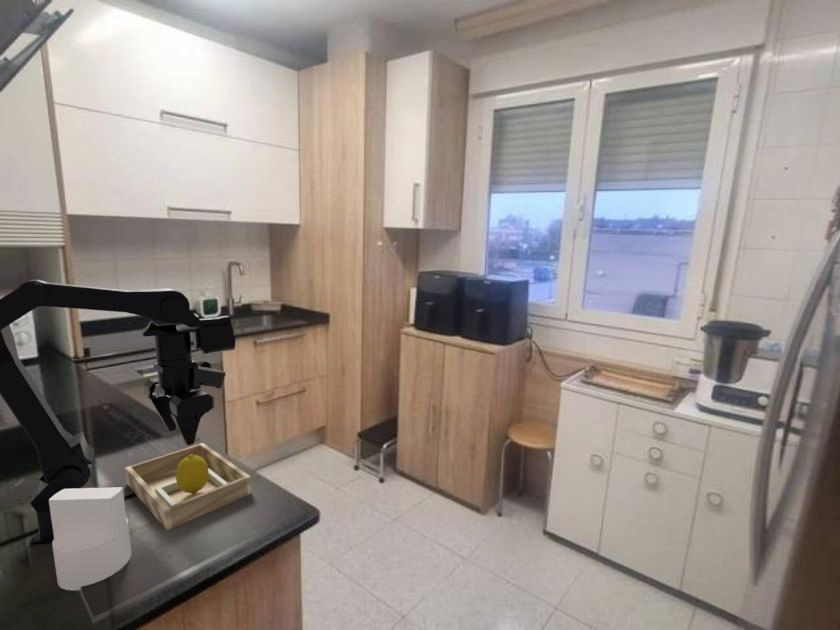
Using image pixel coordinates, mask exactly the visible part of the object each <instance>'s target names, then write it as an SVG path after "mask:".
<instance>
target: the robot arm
mask: <svg viewBox="0 0 840 630" xmlns="http://www.w3.org/2000/svg"><path fill="white" fill-rule="evenodd" d="M37 307H38V308H39V307H49V308H51V307H52V308H66V309H79V310H91V311H92V310H93V311H103V312H104V311H105V312H114V313H115V312H116V313H127V314H132V315H136V316H139V317H143V318H146V319H150V321H149V322H148V324H147V326H146V327H144V328H143V329H142V330H141V334H142V337H154V345H155V347H154V348H155V355H156V356H155V359H156V362H153V363H152V364H153V369H154V370H156V371H157V377H154V378H153V377H152V378H148V379H147V380H146V381H145V382H144V384H143V388H144V389H143V391H144V394H145V395H146V396H147V400H149V402H150V403H151V405H152V406H153V408H154V409H155V411H156V413H157V414H158V416H159V417H160V419H161V421H162V422H163V424H164V425H165V426H166V428H167V430H168V431H169V432H174V431H175V430H176V429H178V431H179V433H180V435H181V437H182V439H183V441H184V443H185V445H186V446H191V445H192V446H193V445H194V444H195V441H196V437H197V434H198V433H197V432H198V430H199V425H200V423H201V418H202V417H203V416H204V415H205V414H206V413H208V412H210V411H211V410H213V409H214V408H215V397H214V396H212V395H210V394H209V393H208V392H206V391H204V390H202V389H201V388H202V386H205V387H212V388H216V389H223V385H224V381H225V377H226V374H227V372H225V371H223V370H221V369H217V368H215V367H212V365H211V364H212V363H211V362H209V361H206V360H199V361H198V362H197V361H195V360H193V355H192V354H193V353H192V343H191V333H192V340H193V346H194V349H195V350H199V351H200V352H201V354H211V353H219V352H220V353H221V352H226V351H229V352H230V351H234V350H235V349H236V334H235V333H234V328H233V324H232V318H231V317H230V316H229V315H221V316H218V317H209V318H208V317H206V318H200V316H199V315H198V314H196V313H194V312H192V311H191V309H190V307H191V306H190V301H189V299H188V298H187V296H186V295H185V294H184V293H182V292H181V291H179V290H177V289H175V288H170V287H163V288H161V287H160V288H144V289H130V290H129V289H119V288H118V289H116V288H108V287H99V286H88V285H80V284H69V283H60V282H48V281H45V280H42V279H31V280H27V281H25V282H23V283H22V284H20V285H19V286H18V287H17V288H16V289H15V290H13V291H12V292H9V293H8V294H6V295H5V296H3V297H1V298H0V396H1V398H2V399H3V401H4V402H5V404H6V405H7V407H8V408H9V410H10V412H12V414H13V415H14V417H15V419H16V420H17V422H18V423H19V425H20V426H21V427H22V429H23V430H24V432H25V433H26V435H27V437H28V438H29V440H30V441H31V442H32V444H33V445H34V447H35V449H36V450H35V451H36V452H37V458H38V463H39V466H40V471H41V473H42V474H41V475H40V476H39V478H38V479H37V482H36V485H35V488H34V491H33V493H32V496H31V500H30V505H31V507H32V508H33V510H34V511H35V513H36V520H37V521H36V522H37V525H38V531H37V532H36V533H35V534H34V535H33V536H32V537H31V538H30V539H29V540H28V541H29V544H30V545H32V544H41V543H42V544H43V543H49V542H50V543H51V542H53V540H54V534H53V527H52V520H51V513H50V506H49V499H50V498H51V497H52V496H53V495H55V494H56V493H58V492H59V491H61V490H63V489H72V488H84V486H86V484H87V483H88V482H89V480H90V477H91V473H92V464H93V462H94V461H93V460H94V447H92V446H91V445H89V444H88V442H87V439H86V437H85V434H84V432H83V431H80V432H78V433H76V434H74V435H73V434H72V433H70V432H69V431H67V430H66V429H65V428H64V427H63V426H62V424H61V422H60V421H59V419H58V417H57V415H56V414H55V412H54V411H53V409H52V408H51V407H50V404H49V403H48V402H47V400H46V399H45V397H44V396H43V394H42V392H41V391H40V389H39V387H38V386H37V385H36V382H35V381H34V380H33V378H32V376H31V375H30V373H29V372H28V370H27V368H26V367H25V366H24V364H23V362H22V361H21V359H20V357H19V354H18V350H17V345H16V341H15V337H14V334H13V331H12V328H11V325H12V324H13V323H14V322H16V321H17V320H19V319H20V318H22V317H24V316H25V315H28V313H30V312H31V311H34V310H35V309H36V308H37ZM153 320H155V321H160V322H163V324H158V323H155V322H154V321H153ZM176 323H180V324H183V325H184V326H185V327H177V325H176ZM192 390H193V391H192Z"/></svg>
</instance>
